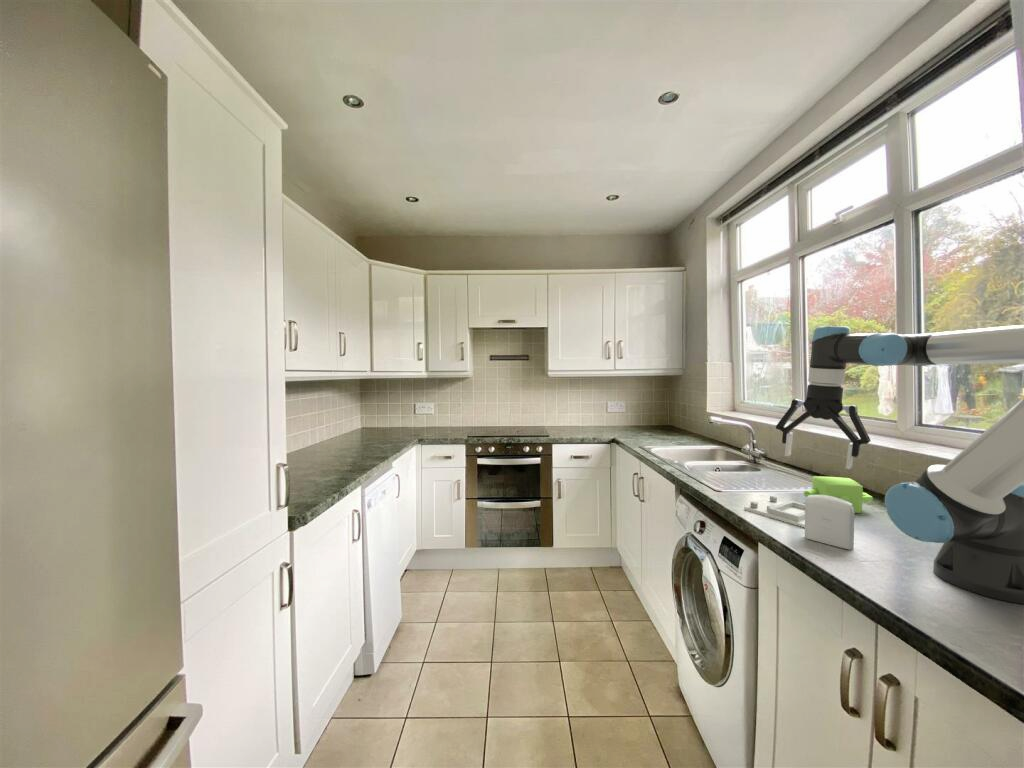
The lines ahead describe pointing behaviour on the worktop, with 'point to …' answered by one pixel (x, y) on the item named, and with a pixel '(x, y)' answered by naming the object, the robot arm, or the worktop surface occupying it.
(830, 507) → the photo printer
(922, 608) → the worktop surface
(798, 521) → the plate
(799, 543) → the worktop surface
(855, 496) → the gearbox
